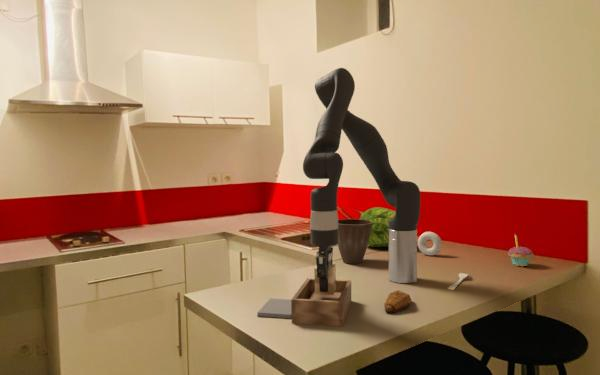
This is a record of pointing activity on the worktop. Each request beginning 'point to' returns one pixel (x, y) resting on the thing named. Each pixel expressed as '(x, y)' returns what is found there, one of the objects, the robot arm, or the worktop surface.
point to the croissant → (397, 301)
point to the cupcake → (520, 254)
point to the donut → (434, 238)
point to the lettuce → (379, 225)
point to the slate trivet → (276, 308)
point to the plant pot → (353, 239)
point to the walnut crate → (321, 304)
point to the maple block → (330, 281)
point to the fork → (460, 279)
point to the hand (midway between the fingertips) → (325, 288)
